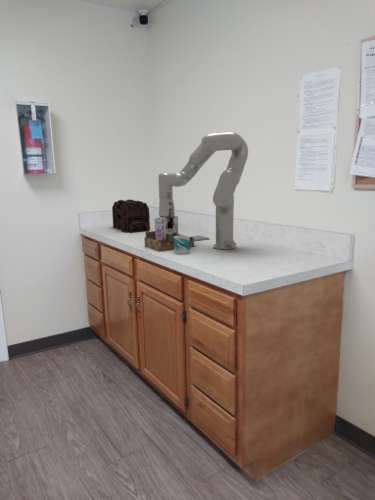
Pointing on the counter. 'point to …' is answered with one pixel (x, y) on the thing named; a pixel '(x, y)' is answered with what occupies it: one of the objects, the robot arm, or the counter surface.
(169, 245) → the frame
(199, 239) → the board
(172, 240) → the offcut upper
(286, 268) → the counter surface
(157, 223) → the candy box
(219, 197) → the robot arm
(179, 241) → the mug
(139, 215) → the crate
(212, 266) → the counter surface
